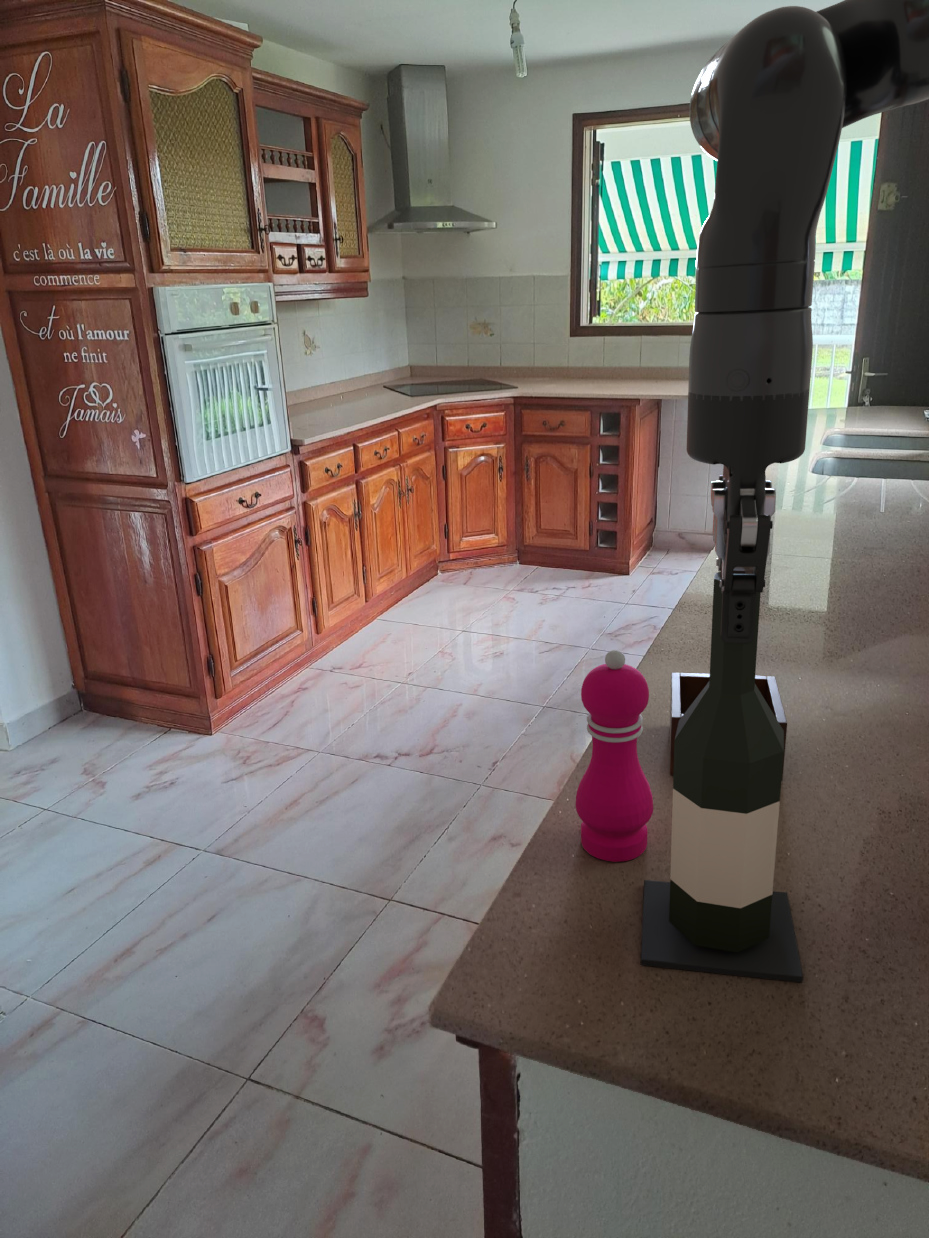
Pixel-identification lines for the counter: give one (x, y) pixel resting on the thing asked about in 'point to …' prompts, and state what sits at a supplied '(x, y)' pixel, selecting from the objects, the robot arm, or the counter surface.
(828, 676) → the counter surface
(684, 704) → the box
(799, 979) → the rubber mat
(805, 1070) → the counter surface
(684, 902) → the wine bottle
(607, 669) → the pepper mill
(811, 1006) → the counter surface
